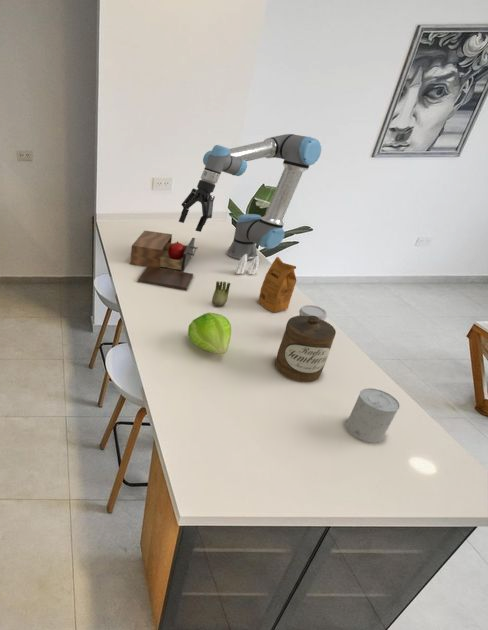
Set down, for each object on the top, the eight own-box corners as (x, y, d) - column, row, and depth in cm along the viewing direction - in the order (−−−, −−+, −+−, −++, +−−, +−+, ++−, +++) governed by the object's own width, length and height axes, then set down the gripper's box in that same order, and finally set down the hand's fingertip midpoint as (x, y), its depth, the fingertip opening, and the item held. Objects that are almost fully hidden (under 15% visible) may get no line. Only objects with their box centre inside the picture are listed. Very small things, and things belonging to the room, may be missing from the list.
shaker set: (235, 276, 215) (240, 256, 209) (232, 273, 219) (236, 253, 213) (258, 274, 216) (262, 254, 210) (253, 271, 220) (258, 251, 214)
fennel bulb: (226, 305, 190) (231, 281, 184) (222, 309, 187) (226, 285, 181) (214, 301, 193) (219, 277, 187) (209, 305, 190) (214, 281, 184)
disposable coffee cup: (316, 332, 171) (325, 306, 164) (320, 345, 163) (329, 318, 157) (290, 328, 173) (298, 302, 167) (293, 340, 166) (301, 314, 159)
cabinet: (170, 252, 243) (172, 234, 237) (159, 269, 224) (161, 249, 218) (143, 248, 249) (144, 230, 243) (130, 264, 230) (131, 245, 224)
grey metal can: (338, 419, 129) (352, 389, 123) (368, 417, 130) (383, 387, 123) (359, 444, 121) (375, 412, 115) (391, 441, 122) (408, 410, 115)
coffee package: (272, 298, 195) (284, 254, 184) (290, 311, 185) (304, 265, 173) (253, 300, 193) (264, 256, 182) (271, 314, 183) (283, 268, 171)
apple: (185, 257, 232) (187, 239, 227) (182, 263, 225) (184, 245, 220) (169, 255, 236) (171, 237, 230) (165, 261, 229) (167, 243, 223)
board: (192, 276, 216) (193, 273, 215) (186, 290, 202) (186, 287, 202) (147, 268, 224) (147, 266, 224) (138, 282, 211) (138, 279, 210)
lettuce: (198, 364, 153) (204, 333, 146) (180, 334, 171) (185, 305, 164) (238, 361, 155) (246, 331, 148) (217, 331, 172) (223, 302, 165)
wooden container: (280, 380, 145) (297, 326, 134) (270, 355, 158) (285, 304, 147) (326, 384, 143) (348, 330, 132) (312, 358, 156) (330, 307, 144)
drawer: (198, 255, 237) (200, 238, 232) (189, 272, 218) (192, 254, 213) (163, 250, 244) (165, 233, 239) (152, 266, 225) (154, 249, 220)
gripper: (185, 173, 198) (168, 217, 207) (219, 186, 178) (199, 233, 187) (197, 177, 202) (180, 220, 210) (232, 190, 182) (211, 236, 190)
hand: (189, 226), depth 199 cm, fingers open, 13 cm apart
